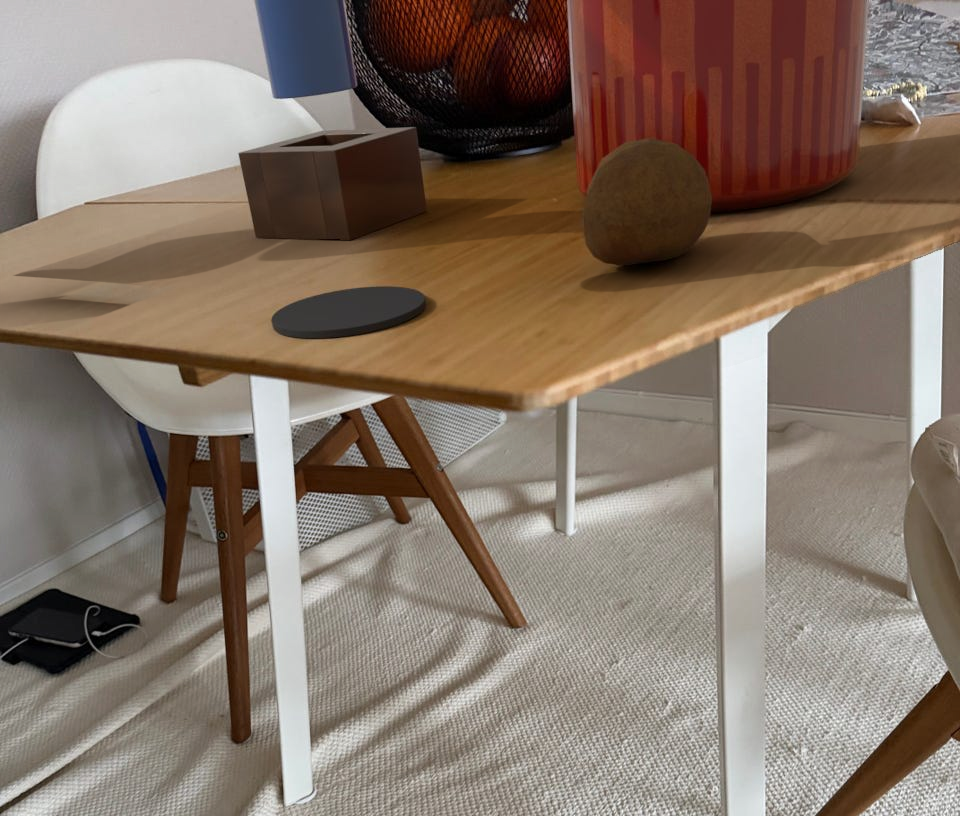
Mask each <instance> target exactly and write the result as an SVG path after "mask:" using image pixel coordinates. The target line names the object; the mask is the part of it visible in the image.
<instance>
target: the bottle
mask: <svg viewBox="0 0 960 816" xmlns="http://www.w3.org/2000/svg"><path fill="white" fill-rule="evenodd" d="M253 3H254V7H255V8H254V9H255V12H256V13H255V14H256V18H257V24H258V28H259V33H260V38H261V44H262V48H263V49H262V50H263V55H264V60H265V65H266V71H267V75H268V80H269V85H270V91H271V95H272V98H273V99H275V100H278V99H279V100H282V99H283V100H285V99H298V98H299V99H300V98H307V97H313V96H320V95H321V96H322V95H329V94H333V93H340V92H343V91H344V92H345V91H348V90H353V89H356V88H357V87H358V79H357V73H356V72H357V71H356V66H355V60H354V59H355V58H354V53H353V46H352V40H351V39H352V38H351V33H350V28H349V21H348V15H347V8H346V0H253Z"/></svg>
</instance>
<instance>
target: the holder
mask: <svg viewBox="0 0 960 816" xmlns="http://www.w3.org/2000/svg"><path fill="white" fill-rule="evenodd" d="M417 131H418V130H417V127H416V126H409V127H408V126H407V127H387V128H386V127H385V128H384V127H383V128H381V127H380V128H360V129H359V128H358V129H336V130H335V129H332V130H319V131H316V132H312V133H309V134H308V133H307V134H305V135H301V136H298V137H293V138H290V139H289V138H288V139H285V140H281V141H278V142H274V143H271V144H266V145H262V146H259V147H256V148H255V147H254V148H251V149H248V150H243V151H240V152H238V153H237V154H238V160H239V164H240V169H241V172H242V173H241V174H242V178H243V182H244V187H245V192H246V196H247V202H248V206H249V211H250V216H251V220H252V226H253V230H254V235H255V238H258V239H286V240H288V239H289V240H318V239H340V240H339V241H353V240H354V239H357V238H360V237H363V236H365V235H368V234H370V233H373V232H376V231H379V230H381V229H384V228H387V227H389V226H392V225H394V224H397V223H401V222H403V221H405V220H407V219H410V218H413V217H416V216H419V215H421V214H424V213H426V212H427V211H428V209H427V202H426V200H427V199H426V195H425V185H424V179H423V170H422V162H421V154H420V147H419V140H418V132H417Z"/></svg>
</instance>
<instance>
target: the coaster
mask: <svg viewBox="0 0 960 816" xmlns="http://www.w3.org/2000/svg"><path fill="white" fill-rule="evenodd" d="M425 307H427V300H426V296H425V295H424V293H423V292H421V291H419V290H417V289H414V288H410V287H405V286H390V285H389V286H388V285H382V286H377V285H376V286H363V287H354V288H353V287H352V288H346V289H340V290H333V291H328V292H324V293H320V294H315V295H312V296H309V297H305V298H302V299H300V300H296V301H294V302H292V303H289V304H287V305H285V306H283V307H281V308H280V309H278V310H276V312H274V314H273V315H272V316H271V319H270V320H271V325H272V328H273V330H274V331H275V332H276V333H278V334H280V335H283V336H286V337H291V338H296V339H297V338H298V339H333V338H343V337H350V336H357V335H362V334H368V333H373V332H377V331H381V330H384V329H388V328H391V327H394V326H397V325H400V324H403V323H405V322H408V321H410V320H412V319H413V318H412V317H414V318H416V317H417V316H418V315H417V314H419V313H420V314H422V313H423V312H424V311H425V309H426V308H425ZM424 308H425V309H424ZM423 310H424V311H423ZM420 314H419V315H420ZM416 315H417V316H416ZM415 316H416V317H415ZM411 318H412V319H411ZM409 319H410V320H409ZM407 320H408V321H407ZM404 321H405V322H404ZM402 322H403V323H402Z"/></svg>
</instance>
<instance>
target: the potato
mask: <svg viewBox="0 0 960 816" xmlns="http://www.w3.org/2000/svg"><path fill="white" fill-rule="evenodd" d="M711 202H712V197H711V192H710V187H709V182H708V178H707V176H706V172H705V170H704V169H703V167H702V166H701V165H700V163H699V162H698V161H697V159H696V158H695V157H694V156H693V155H692V154H690V153H688V152H687V151H685V150H684V149H683V148H681V147H680V146H678V145H677V144H674V143H670V142H665V141H661V140H656V139H652V138H649V139H643V140H637V141H631V142H626V143H624V144H622V145H621V146H619V147H618V148H617V149H615V150H614V151H612V152H611V153H609V154H608V155H607V156H605V157H604V158H602V160H601V162H600V164H599V166H598V168H597V170H596V172H595V174H594V176H593V178H592V180H591V182H590V184H589V186H588V191H587V196H586V197H585V201H584V205H583V206H584V207H583V210H582V234H583V239H584V242H585V246H586V247H587V249H588V250H589V252H590V254H591V255H592V257H593V258H595V259H597V260H599V261H600V262H602V263H604V264H607V265H609V264H610V265H614V266H623V265H624V266H627V265H628V266H629V265H638V264H645V263H652V262H653V263H654V262H662V261H667V260H673V259H676V258H678V257H680V256H682V255H683V254H684V253H686V252H687V251H688V250H690V249H691V248H693V247H694V246H695V245H696V243H697V242H698V241H699V239H700V238H701V237H702V235H703V233H705V231H706V228H707V226H708V222H709V221H710V217H711V213H710V211H711Z"/></svg>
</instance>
